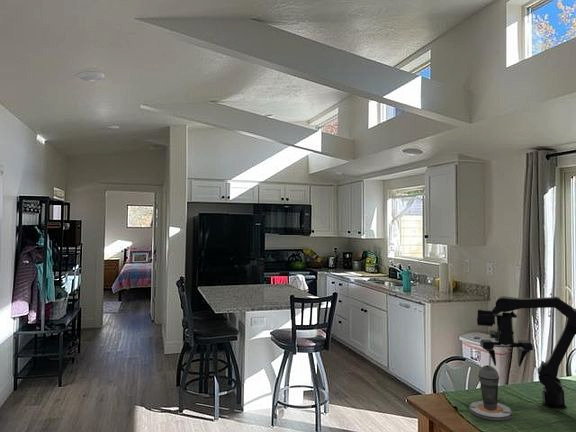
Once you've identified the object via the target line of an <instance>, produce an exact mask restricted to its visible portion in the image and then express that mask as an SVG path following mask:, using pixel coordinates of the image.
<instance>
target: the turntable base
mask: <svg viewBox="0 0 576 432" xmlns="http://www.w3.org/2000/svg"><path fill="white" fill-rule="evenodd" d="M468 411H469V413H470V414H471V415H472V416H474V417H476V418H479V419H481V418H482V420H485V419H487V420H486V421H490V420H492V421H491V422H506V421H509V420H511V419H513V417H514V414H513V411H512V410H511V415H510V416H508V417H505V418H490V417H485V416H481V415H479V414H476V413H474V412H473V411H472V410H471V409H470V405H469V406H468Z"/></svg>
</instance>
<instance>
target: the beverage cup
mask: <svg viewBox="0 0 576 432" xmlns="http://www.w3.org/2000/svg"><path fill="white" fill-rule="evenodd" d="M488 356H489V357H488V358H489V359H488V361H489V362H488V364H487V365H483V366H482V367H480V369H479V371H478V374H477V376H478V380H479V382H480V384H479V385H480V390H481V398H482V401H483V405H484V408H485V409H488V410H496V409H497V403H498V401H499V400H498V398H499V397H498V394H499V381H500V375H499V372H498V370H497V369H496V367H493V366H491V365H492V364H491V362H492V358H491V355H490V354H489V355H488Z"/></svg>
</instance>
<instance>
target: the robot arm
mask: <svg viewBox="0 0 576 432" xmlns="http://www.w3.org/2000/svg"><path fill="white" fill-rule="evenodd" d="M546 308H547V309H549V308H550V309H551V308H554V309H556V310H557V311H558V312H560V313H561V314H562V315H563V316H565V317H566V319H565V322H564V328H563V330H562V332H561V334H560V336H559V339H558V340H557V342H556V344H555V346H554V348H553V351H552V352H551V354H550V356H549V359H548V360H546V361H544V360H541V362H540V366H539V367H538V368H537V375H538V381H539V383H540V384H542V386H543V390H542V391H541V394H542V403H544V405H545V406H546V407H548V408H557V409H558V408H559V409H568V408H567V407H568V406H567V405H566V402H565V390H564V388H563V384H562V381H561V379H559V378H558V375H559V374H558V373H559V370H560V369H559V368H560V366H561V364H562V362H563V359H564V357H565V355H566V354H567V351H568V350H569V348H570V345H571V344H572V341H573V340H574V338H575V336H576V308H574V307H572V306H571V305H570V304H568V303H566V302H565V301H564V300H562V299H561V298H560V297H559V296H550V297H527V298H526V297H525V298H520V297H513V296H503V295H502V296H499V297H498V298H497V299H496V301H495V306H494V307H492V309H491V310H489V309H486V310H485V309H480V308H478V309H477V318H476V321H477V322H476V323H477V326H478V327H493V326H494V325H496V324H497V326H496V330H493V329H491V330H489V337H490V339H480V341H479V344H480V345H479V346H480V347H481V348H482V349H483V350H485V351H486V352H488V353H489V355H491V362H492V363H493V365H494V366H497V359H496V358H497V357H496V351H495V349H494V348H496V347H497V348H517V366H518V367H521V365H522V364H523V361H524V358H525V356H526V355H527V354H528V353H530V351H534V346H533V343H531V342H530V341H528V340H526V339H525V340H524V339H523V340H522V339H521V340H520V339H518V341H517V342H515V341H514V329H513V319H515V318H516V319H517V318H518V314H516V313H515V312H514V311H517V310H521V309H546ZM491 339H494V341H492V340H491Z"/></svg>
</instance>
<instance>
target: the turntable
mask: <svg viewBox="0 0 576 432" xmlns="http://www.w3.org/2000/svg"><path fill="white" fill-rule="evenodd" d="M469 406H470V409H471V410H472V411H473V412H474V413H476V414H479V415H481V416H485V417H490V418H505V417H508V416H510V415H511V411H512V410H511V408H510V407H509V406H507V405H505V404H502V403H499V402H497V409H496V410H488V409H485V408H484V405H483V400H478V401H473V402H471V403H470V404H469Z"/></svg>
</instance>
